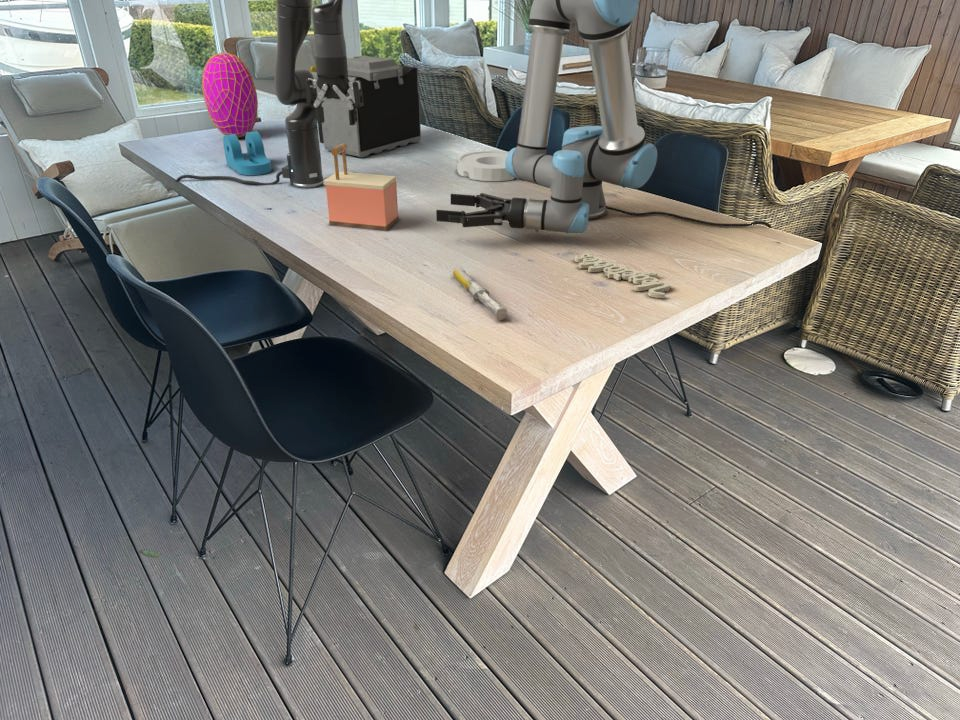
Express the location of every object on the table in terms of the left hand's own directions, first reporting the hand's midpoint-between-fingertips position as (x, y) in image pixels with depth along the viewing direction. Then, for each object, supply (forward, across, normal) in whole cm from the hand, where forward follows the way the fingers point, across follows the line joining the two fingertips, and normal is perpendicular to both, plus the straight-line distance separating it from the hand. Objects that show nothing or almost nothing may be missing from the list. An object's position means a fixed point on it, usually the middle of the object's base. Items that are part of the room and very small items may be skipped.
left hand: (337, 123), depth 173 cm
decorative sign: (+25, -76, +17) cm, 82 cm away
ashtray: (+25, -26, -59) cm, 69 cm away
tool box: (+25, +26, -80) cm, 88 cm away
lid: (+15, -5, 0) cm, 15 cm away
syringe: (+25, -47, +37) cm, 65 cm away
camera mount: (+25, +52, -39) cm, 69 cm away
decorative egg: (+25, +81, -78) cm, 115 cm away
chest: (+25, -5, 0) cm, 26 cm away
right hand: (+18, -28, +1) cm, 34 cm away
